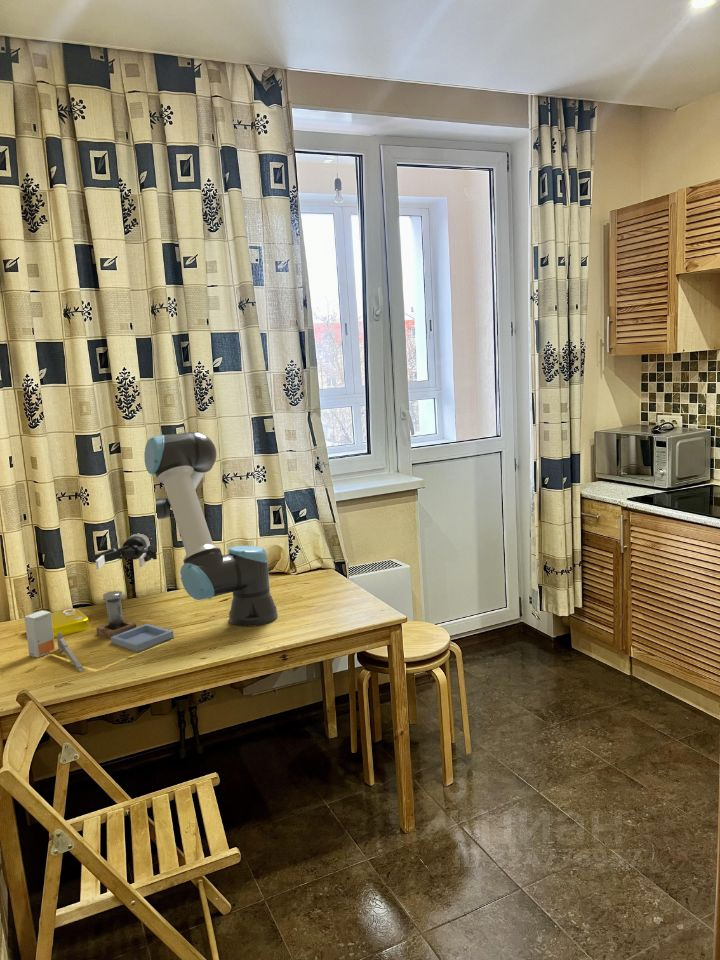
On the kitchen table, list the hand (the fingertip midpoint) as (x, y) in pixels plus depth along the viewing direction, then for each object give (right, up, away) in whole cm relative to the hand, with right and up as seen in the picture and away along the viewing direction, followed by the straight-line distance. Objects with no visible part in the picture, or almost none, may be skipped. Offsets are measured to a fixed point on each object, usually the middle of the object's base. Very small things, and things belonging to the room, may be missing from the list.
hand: (118, 563), depth 235 cm
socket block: (+2, -21, -7) cm, 22 cm away
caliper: (-5, -25, -26) cm, 36 cm away
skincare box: (-16, -24, -19) cm, 35 cm away
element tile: (-18, -22, -1) cm, 28 cm away
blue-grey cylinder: (+2, -20, -7) cm, 21 cm away
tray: (+12, -22, -15) cm, 29 cm away
